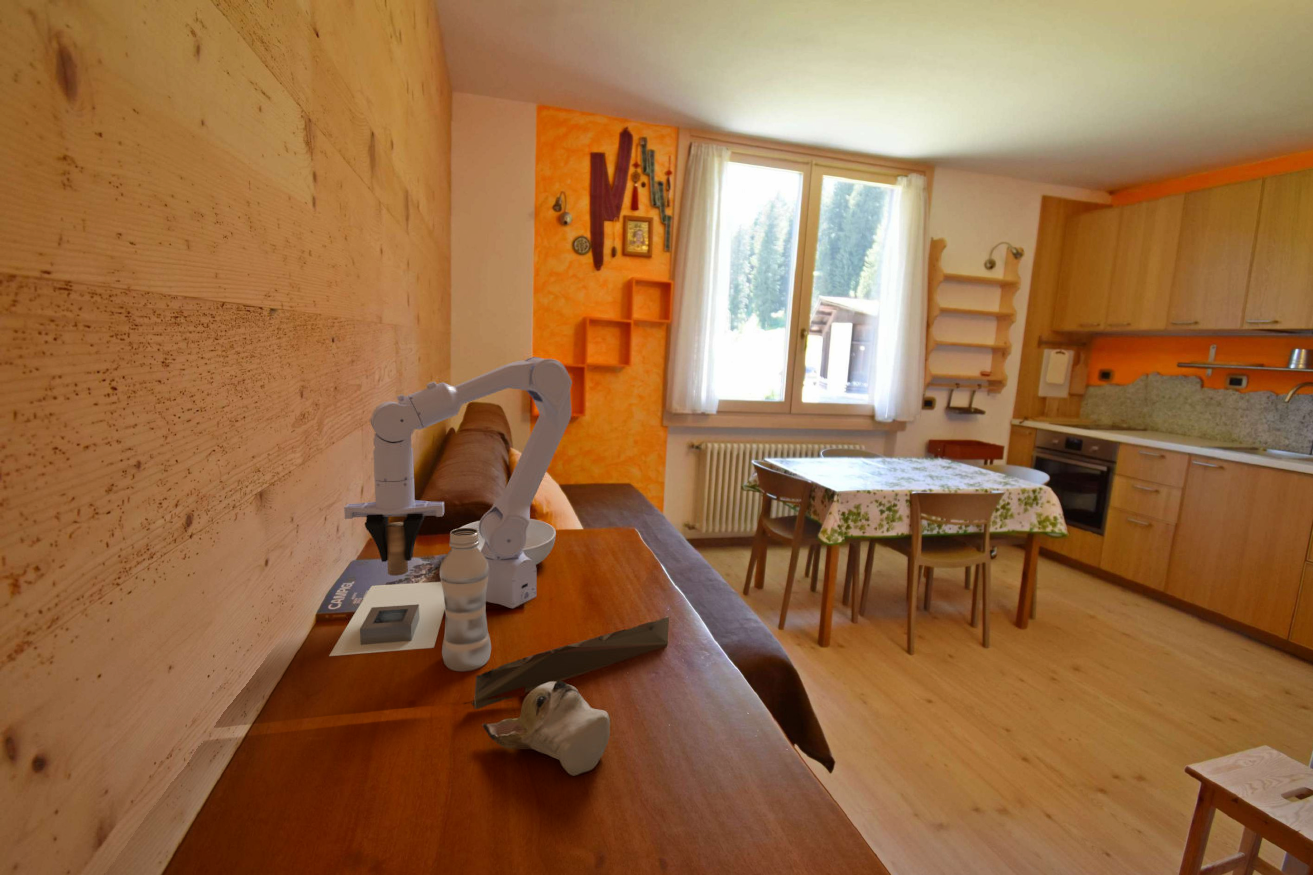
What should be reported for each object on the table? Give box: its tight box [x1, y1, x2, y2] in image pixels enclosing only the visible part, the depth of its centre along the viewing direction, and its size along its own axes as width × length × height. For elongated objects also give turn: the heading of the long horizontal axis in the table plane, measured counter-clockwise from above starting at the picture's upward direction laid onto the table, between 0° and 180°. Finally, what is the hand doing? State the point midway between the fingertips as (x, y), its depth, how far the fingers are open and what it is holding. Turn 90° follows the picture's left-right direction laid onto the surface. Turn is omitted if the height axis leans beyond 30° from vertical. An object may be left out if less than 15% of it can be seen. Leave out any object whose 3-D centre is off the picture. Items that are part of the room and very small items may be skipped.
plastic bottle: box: [438, 527, 492, 672], centre depth 80 cm, size 6×7×20 cm
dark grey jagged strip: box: [472, 615, 670, 710], centre depth 81 cm, size 30×1×5 cm, turn 125°
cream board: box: [328, 581, 445, 657], centre depth 94 cm, size 24×14×1 cm, turn 13°
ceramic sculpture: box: [481, 680, 611, 777], centre depth 65 cm, size 11×9×15 cm
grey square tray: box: [360, 604, 420, 645], centre depth 88 cm, size 7×7×2 cm
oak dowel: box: [386, 521, 409, 577], centre depth 93 cm, size 3×3×8 cm
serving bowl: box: [459, 518, 557, 566], centre depth 118 cm, size 21×21×7 cm
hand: (397, 559), depth 93 cm, fingers closed on oak dowel, 3 cm apart
